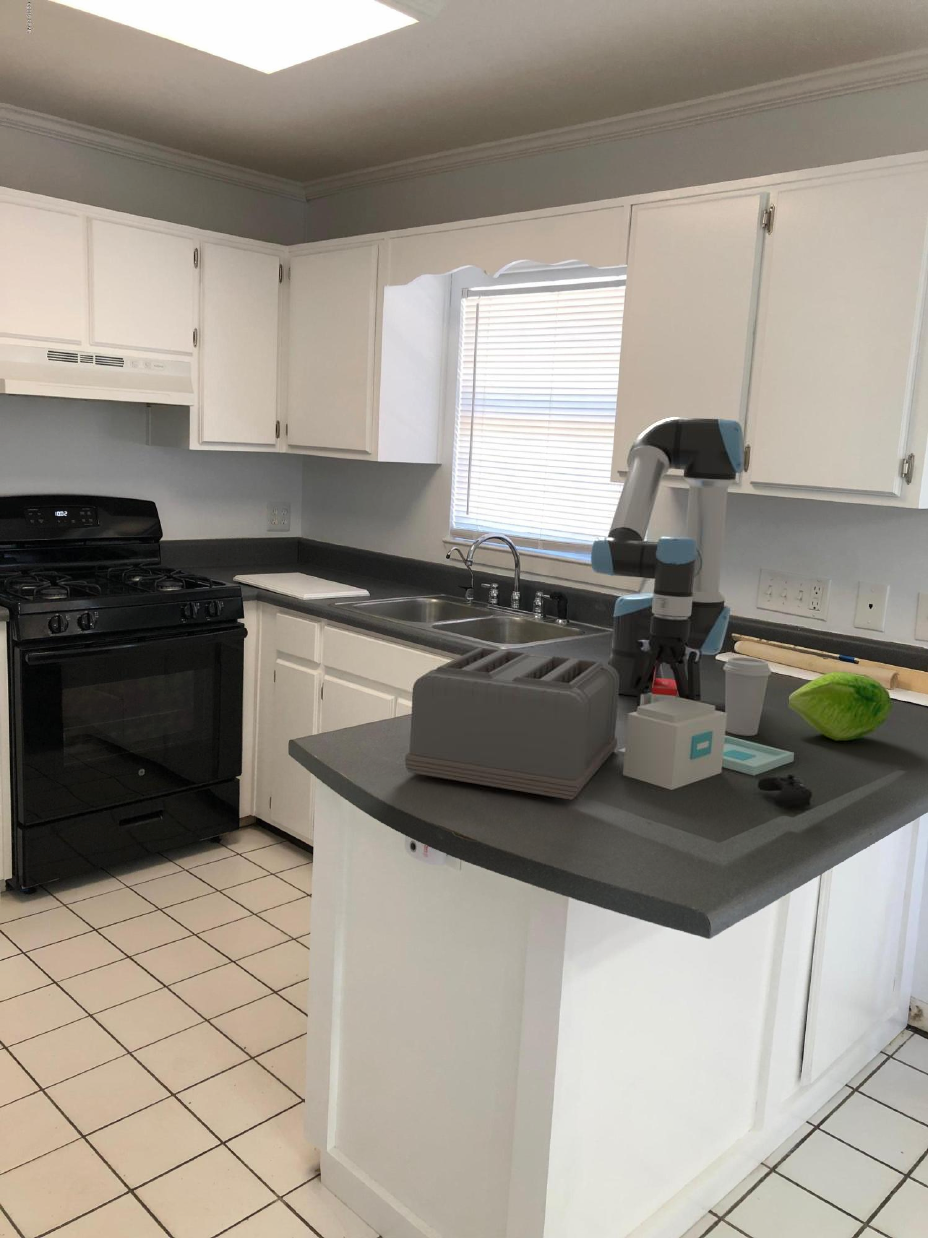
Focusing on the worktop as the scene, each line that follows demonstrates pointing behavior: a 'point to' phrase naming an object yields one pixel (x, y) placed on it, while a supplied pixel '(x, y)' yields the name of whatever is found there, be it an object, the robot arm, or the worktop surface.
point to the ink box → (663, 689)
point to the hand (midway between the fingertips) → (661, 729)
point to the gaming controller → (786, 790)
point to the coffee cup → (745, 694)
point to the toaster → (514, 721)
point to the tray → (752, 756)
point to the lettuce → (842, 704)
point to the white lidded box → (674, 742)
